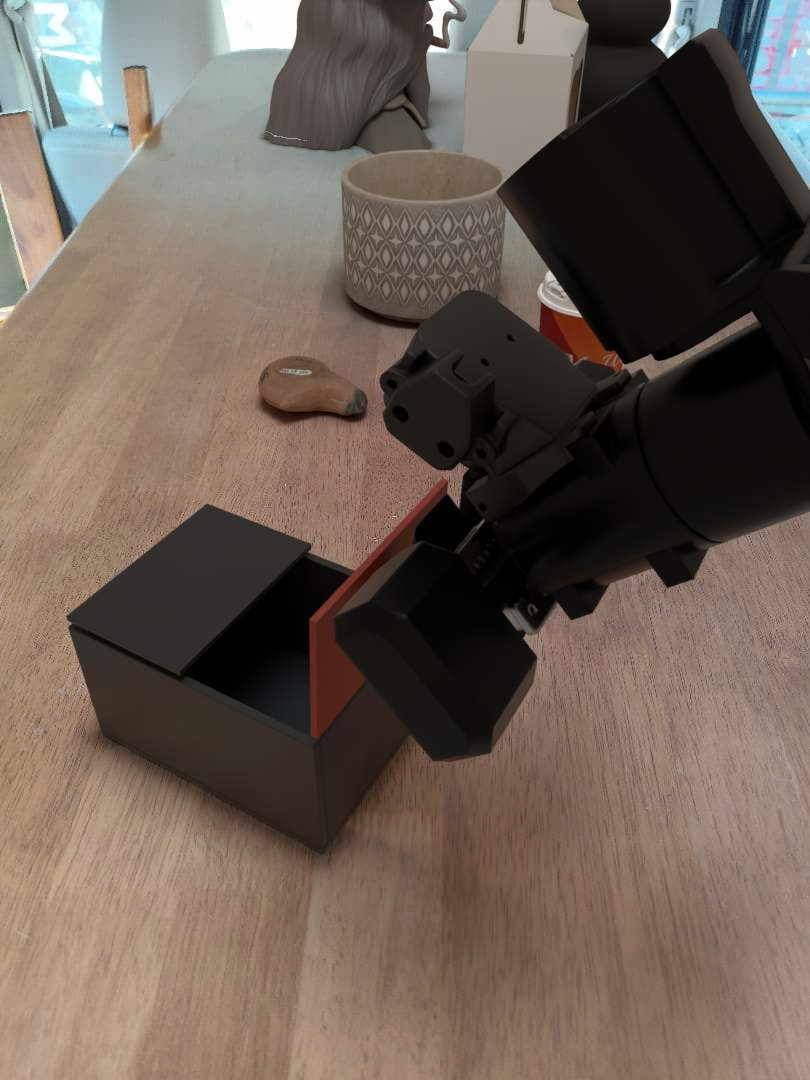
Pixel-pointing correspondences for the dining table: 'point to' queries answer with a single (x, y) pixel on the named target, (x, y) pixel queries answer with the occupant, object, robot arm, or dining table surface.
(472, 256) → the planter
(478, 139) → the cake box
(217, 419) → the dining table surface
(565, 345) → the paper cup
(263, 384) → the oil lamp
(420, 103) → the bust
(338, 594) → the lid
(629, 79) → the vase
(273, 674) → the black flip box
